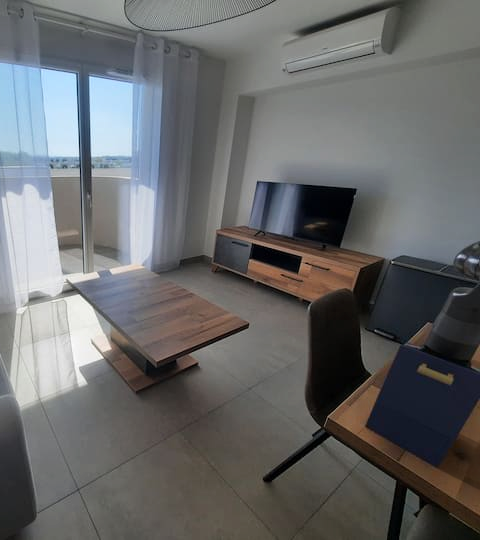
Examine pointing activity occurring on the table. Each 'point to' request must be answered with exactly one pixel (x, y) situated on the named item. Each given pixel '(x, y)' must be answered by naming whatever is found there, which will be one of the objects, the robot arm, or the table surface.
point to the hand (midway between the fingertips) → (426, 391)
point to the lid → (430, 391)
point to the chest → (409, 434)
